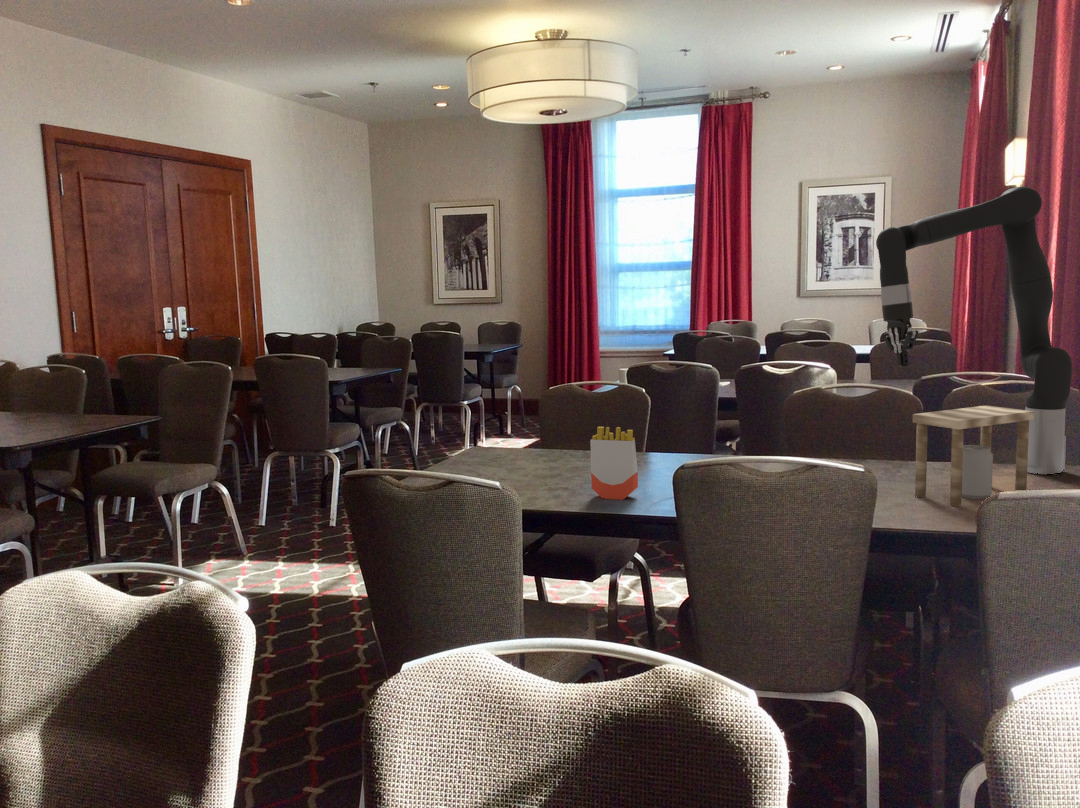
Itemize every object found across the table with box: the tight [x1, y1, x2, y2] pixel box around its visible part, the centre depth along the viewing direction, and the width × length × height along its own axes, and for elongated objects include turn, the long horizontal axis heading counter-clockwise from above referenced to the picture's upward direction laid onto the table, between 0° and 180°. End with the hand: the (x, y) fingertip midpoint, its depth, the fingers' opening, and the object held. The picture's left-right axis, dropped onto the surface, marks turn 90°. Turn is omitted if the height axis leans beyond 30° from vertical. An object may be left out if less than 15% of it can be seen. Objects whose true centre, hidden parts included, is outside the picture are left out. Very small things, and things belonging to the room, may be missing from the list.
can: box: [962, 444, 994, 500], centre depth 210 cm, size 8×8×12 cm
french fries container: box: [589, 426, 639, 500], centre depth 220 cm, size 5×11×18 cm, turn 68°
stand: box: [912, 405, 1034, 508], centre depth 210 cm, size 25×13×20 cm, turn 115°
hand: (903, 366), depth 237 cm, fingers closed
